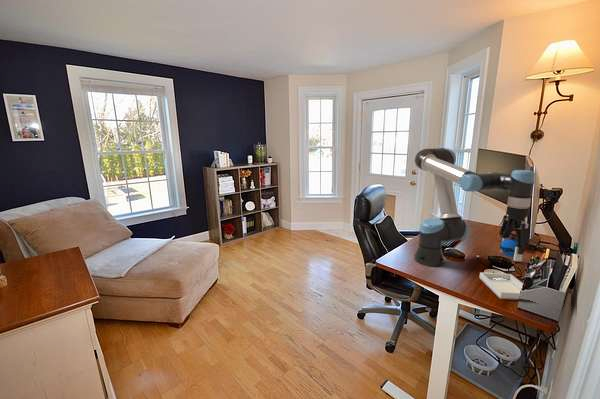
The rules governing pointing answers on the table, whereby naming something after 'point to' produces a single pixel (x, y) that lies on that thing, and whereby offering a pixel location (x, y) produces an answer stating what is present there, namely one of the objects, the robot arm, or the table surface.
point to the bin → (502, 285)
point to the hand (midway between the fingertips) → (510, 256)
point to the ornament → (509, 246)
